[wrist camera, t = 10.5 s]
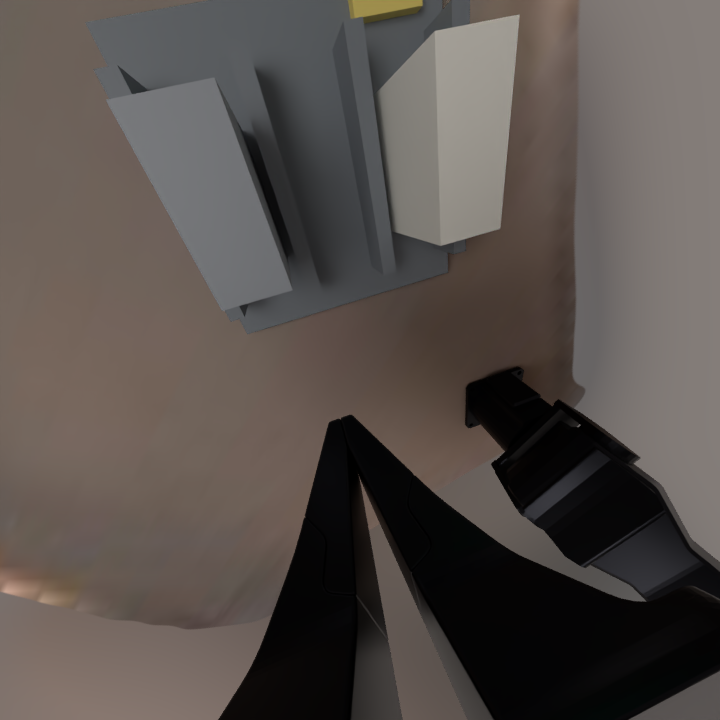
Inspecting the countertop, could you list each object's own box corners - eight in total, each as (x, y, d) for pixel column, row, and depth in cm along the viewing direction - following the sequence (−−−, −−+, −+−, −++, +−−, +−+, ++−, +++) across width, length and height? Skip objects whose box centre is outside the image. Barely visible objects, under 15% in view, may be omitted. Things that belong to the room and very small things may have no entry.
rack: (441, 269, 20) (519, 304, 14) (248, 328, 19) (232, 398, 12) (430, -26, 12) (600, -273, 6) (99, 35, 11) (-166, -205, 4)
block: (425, 218, 17) (500, 228, 11) (384, 229, 17) (440, 245, 11) (418, 90, 14) (519, 14, 8) (367, 101, 13) (434, 30, 8)
